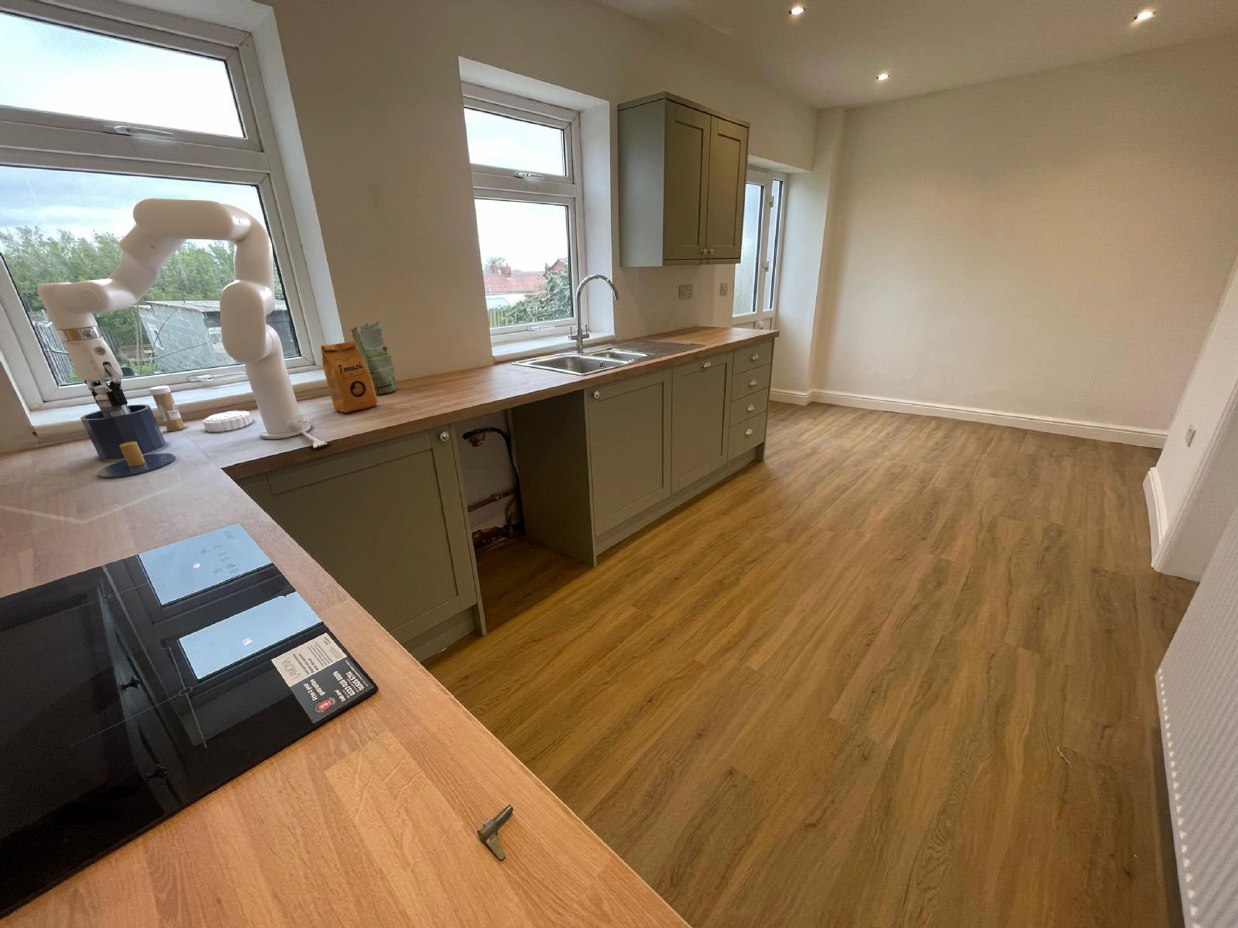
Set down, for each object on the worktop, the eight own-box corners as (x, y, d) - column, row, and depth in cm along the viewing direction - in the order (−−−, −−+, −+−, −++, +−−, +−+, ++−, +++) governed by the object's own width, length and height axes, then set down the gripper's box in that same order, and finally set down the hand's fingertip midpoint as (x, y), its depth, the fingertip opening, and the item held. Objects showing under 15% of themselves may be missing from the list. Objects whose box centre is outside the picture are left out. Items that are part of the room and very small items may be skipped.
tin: (177, 444, 141) (161, 405, 137) (121, 463, 130) (101, 421, 125) (146, 441, 146) (129, 403, 141) (88, 459, 134) (67, 418, 129)
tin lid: (190, 459, 130) (180, 435, 127) (124, 483, 117) (111, 457, 115) (152, 455, 134) (142, 431, 132) (85, 477, 122) (72, 452, 119)
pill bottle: (116, 415, 136) (102, 384, 133) (137, 414, 136) (122, 382, 133) (100, 422, 131) (84, 389, 128) (121, 420, 132) (105, 387, 128)
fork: (309, 432, 147) (307, 426, 146) (331, 447, 134) (329, 441, 133) (296, 435, 145) (294, 429, 144) (318, 451, 132) (316, 445, 131)
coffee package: (382, 406, 168) (366, 340, 160) (343, 416, 160) (324, 347, 152) (369, 402, 175) (353, 338, 166) (332, 411, 167) (313, 344, 158)
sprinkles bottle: (184, 429, 155) (167, 387, 149) (165, 432, 153) (147, 389, 147) (186, 425, 158) (169, 384, 153) (168, 429, 156) (150, 386, 151)
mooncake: (197, 430, 153) (192, 419, 152) (236, 418, 163) (233, 408, 162) (222, 434, 149) (217, 422, 147) (261, 421, 159) (257, 410, 158)
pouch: (367, 397, 181) (349, 326, 171) (366, 390, 191) (349, 323, 181) (400, 392, 185) (384, 323, 176) (397, 386, 195) (382, 320, 185)
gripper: (120, 332, 126) (150, 402, 133) (78, 332, 131) (109, 399, 138) (83, 338, 119) (117, 410, 127) (40, 337, 125) (75, 407, 132)
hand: (112, 404), depth 132 cm, fingers closed on pill bottle, 5 cm apart
